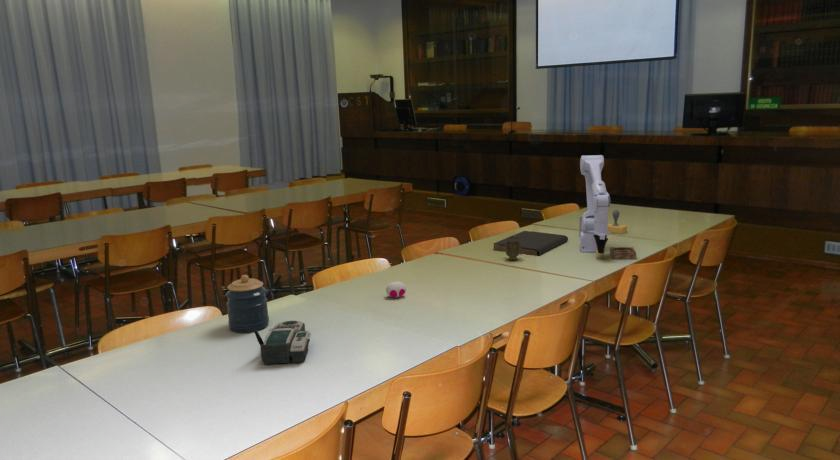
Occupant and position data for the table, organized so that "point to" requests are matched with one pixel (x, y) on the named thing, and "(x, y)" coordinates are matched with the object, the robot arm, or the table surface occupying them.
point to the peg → (599, 255)
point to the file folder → (533, 242)
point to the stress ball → (396, 289)
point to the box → (622, 253)
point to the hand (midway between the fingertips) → (600, 252)
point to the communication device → (285, 343)
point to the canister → (247, 305)
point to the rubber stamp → (615, 227)
